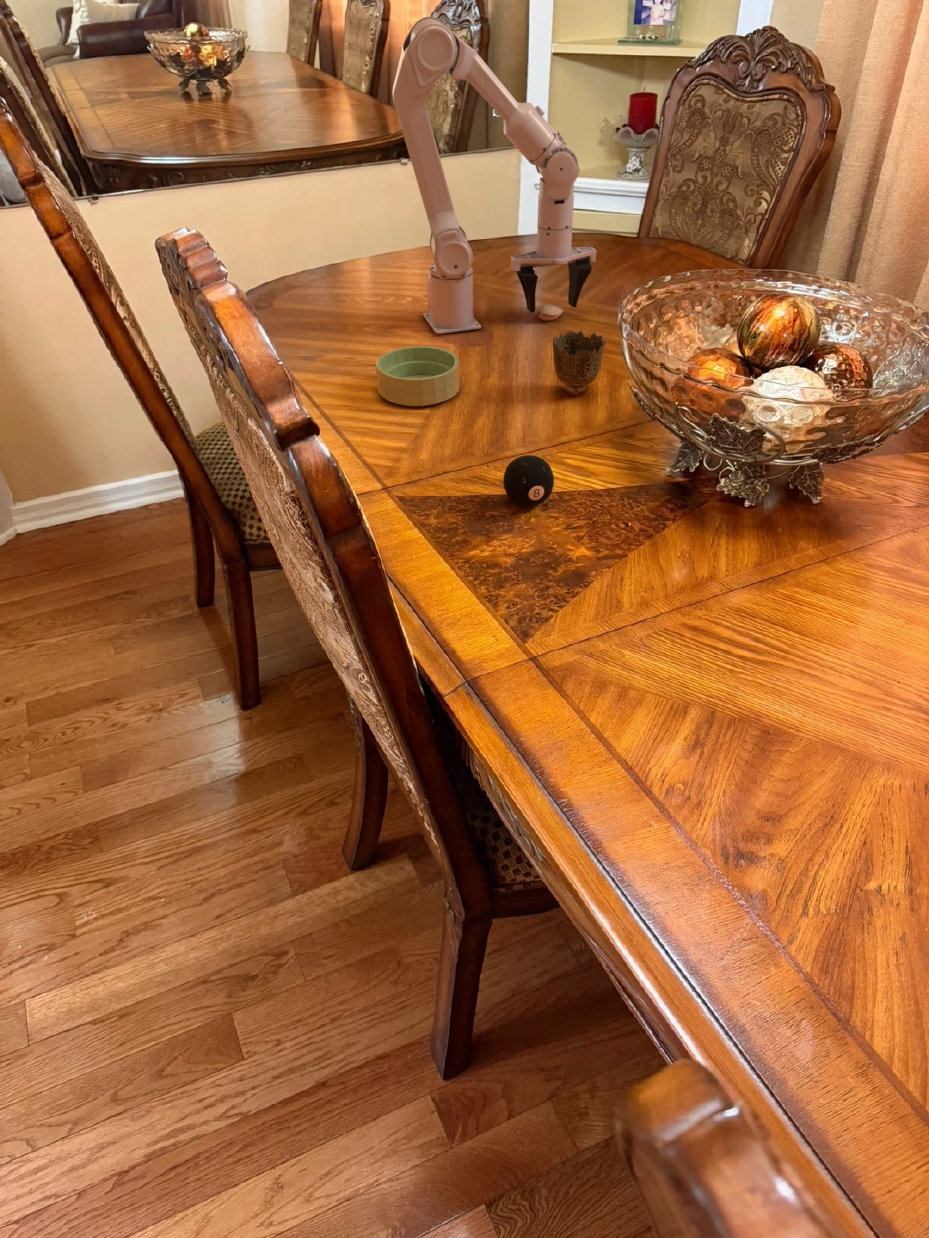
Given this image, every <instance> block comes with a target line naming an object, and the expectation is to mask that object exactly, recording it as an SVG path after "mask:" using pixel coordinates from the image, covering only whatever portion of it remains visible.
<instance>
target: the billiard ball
mask: <svg viewBox="0 0 929 1238" xmlns="http://www.w3.org/2000/svg"><path fill="white" fill-rule="evenodd" d="M554 477H555V476H554V473H553V470H552V468H551V466H550V464H549V463H548V462H547V461H546V460H545V459H544V458H541V457H540V456H537V455H531V454H525V455H521V456H518V457H517V458H514V459H513V460H512V461H511V462H509V464H508V465H507V467H506V468H505V470H504V473H503V478H502V479H503V481H502V483H503V487H504V492H505V494H506V496H507V497H508V499H509V500H510V501H511V502H513V503H514V504H515V505H518V506H521V507H526V508H527V507H528V508H529V507H536V506H539V505H541V504H543V503H544V502H545V501H547V500H548V499H549V498H550V497H551V494H552V492H553V490H554V484H555V478H554Z"/></svg>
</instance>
